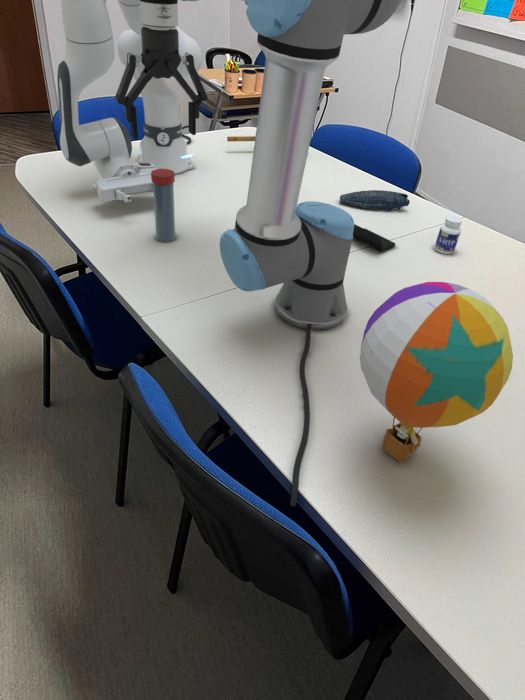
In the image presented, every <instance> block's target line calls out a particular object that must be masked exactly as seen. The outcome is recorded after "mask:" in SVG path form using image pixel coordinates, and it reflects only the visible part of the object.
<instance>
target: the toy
mask: <svg viewBox="0 0 525 700" xmlns="http://www.w3.org/2000/svg"><path fill="white" fill-rule="evenodd" d="M510 336H511V335H510V332H509V327H508V325H507V323H506V321H505V319H504V317H503V316H502V315H501V314H500V312H499V311H498V310H497V309H496V307H494V305H493V304H492V303H491V302H490V301H489V300H488V299H487V298H485V297H484V296H482V295H481V294H479V293H478V292H476V291H475V290H473V289H470V288H468V287H465V286H463V285H460V284H457V283H451V282H446V281H425V282H421V283H417V284H414V285H409V286H407V287H404V288H402V289H399V290H398V291H396V292H395V293H393V294H392V295H391V296H390V297H388V298H387V299H386V300H385V301H384V302H383V303H381V305H380V306H378V307H377V308H375V310H374V311H373V313H372V314H371V315H370V317H369V318H368V319H367V322H366V325H365V328H364V331H363V336H362V340H361V344H360V353H359V363H360V369H361V371H362V374H363V377H364V379H365V381H366V384H367V387H368V388H369V390H370V393H371V395H372V396H374V398H375V399H376V400H377V401H378V402H379V404H380V405H381V406H382V407H383V408H384V409H385V410H386V411H388V413H389V414H390V415H391V416H392V417H393V421H392V426H391V428H386V430H385V433H384V437H383V440H382V449H383V450H384V451H385V452H386V453H387V454H389V456H391V457H392V458H393V459H395V460H396V461H397V462H399V463H403V462H405V460H407V459H408V458H409V457H410V456H411V455H413V454H414V453H415V452H416V450H417V449H418V448H420V447H421V441H422V436H421V435H420V434H419V433H420V432H421V431H422V430H423V429H424V428H425V429H428V428H443V427H452V426H457V425H459V424H461V423H463V422H466V421H468V420H470V419H472V418H474V417H477V416H479V415H480V414H481V415H482V414H483V413H484V412H486V411H487V410H489V408H490V407H491V406H492V405H494V403H495V401H496V400H497V398H498V397H499V395H500V393H501V392H502V390H503V388H504V387H505V386H506V384H507V383H508V381H509V378H510V376H511V372H512V370H513V359H514V353H513V347H512V342H511V337H510ZM395 420H397V421H398V422H399V423H397V424H395ZM415 428H417V429H419V428H420V429H419V430H418V431H417V432H416V430H415Z"/></svg>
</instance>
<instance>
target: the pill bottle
mask: <svg viewBox="0 0 525 700" xmlns="http://www.w3.org/2000/svg"><path fill="white" fill-rule="evenodd" d="M462 222H463V219H461V218H460V217H458V216H455V215H448V216H446V218H445V220H444V223H443V224H442V225H440V228H439V231H438V234H437V237H436V240H435V243H434V250H435V251H437V252H439V253H441V254H447V255H449V254H453V253H454V252H455V250H456V247H457V244H458V242H459V239H460V236H461V233H462V229H461V225H462Z"/></svg>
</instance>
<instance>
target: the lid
mask: <svg viewBox="0 0 525 700" xmlns="http://www.w3.org/2000/svg"><path fill="white" fill-rule="evenodd" d="M175 176H176V174H174V171H172V170H169V169H155V170H153V171H151V181H152V182H153V183H155V184H158V185H169V184H172V183H175V181H176V180H175V179H176V177H175Z"/></svg>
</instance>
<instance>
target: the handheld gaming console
mask: <svg viewBox="0 0 525 700" xmlns="http://www.w3.org/2000/svg"><path fill="white" fill-rule="evenodd" d="M353 239H355V240H357V241H359V242H361V243H363V244H366V245H368V246H369V247H370V248H372V249H374V250H377V251H379V252H381V253H384V252H386V251H388V250H390V249H392V248H394V247H396V242H394V241H391V239H388V238H386V237H384V236H382V235H380V234H378V233H376V232H374V231H371V230H369V229H367V228H363V227H361V226H359V225H357V224H355V223H354V229H353Z"/></svg>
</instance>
